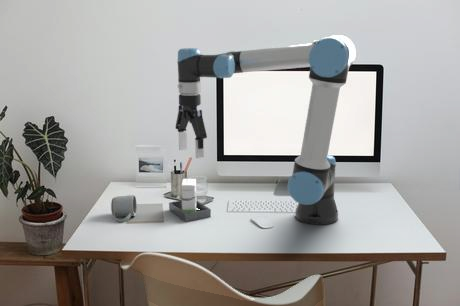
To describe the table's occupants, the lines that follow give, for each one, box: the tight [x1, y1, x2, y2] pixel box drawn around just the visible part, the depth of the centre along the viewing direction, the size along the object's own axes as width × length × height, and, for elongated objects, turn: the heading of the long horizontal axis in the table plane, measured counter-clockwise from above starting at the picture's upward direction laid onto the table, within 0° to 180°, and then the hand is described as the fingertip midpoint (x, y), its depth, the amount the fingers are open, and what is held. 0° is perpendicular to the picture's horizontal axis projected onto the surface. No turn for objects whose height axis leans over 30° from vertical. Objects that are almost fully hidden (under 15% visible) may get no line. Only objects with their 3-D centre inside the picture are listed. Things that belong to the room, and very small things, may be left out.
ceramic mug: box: [110, 195, 138, 223], centre depth 203 cm, size 11×8×8 cm
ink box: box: [181, 178, 197, 213], centre depth 206 cm, size 9×5×12 cm, turn 0°
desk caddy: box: [168, 199, 212, 223], centre depth 207 cm, size 10×14×3 cm
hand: (191, 153), depth 201 cm, fingers open, 13 cm apart
